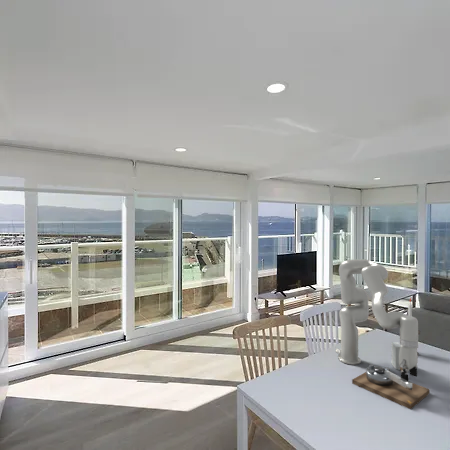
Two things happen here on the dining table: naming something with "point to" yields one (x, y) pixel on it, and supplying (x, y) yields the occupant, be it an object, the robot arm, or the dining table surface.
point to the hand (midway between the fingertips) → (409, 378)
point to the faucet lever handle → (385, 377)
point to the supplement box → (396, 355)
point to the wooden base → (394, 391)
